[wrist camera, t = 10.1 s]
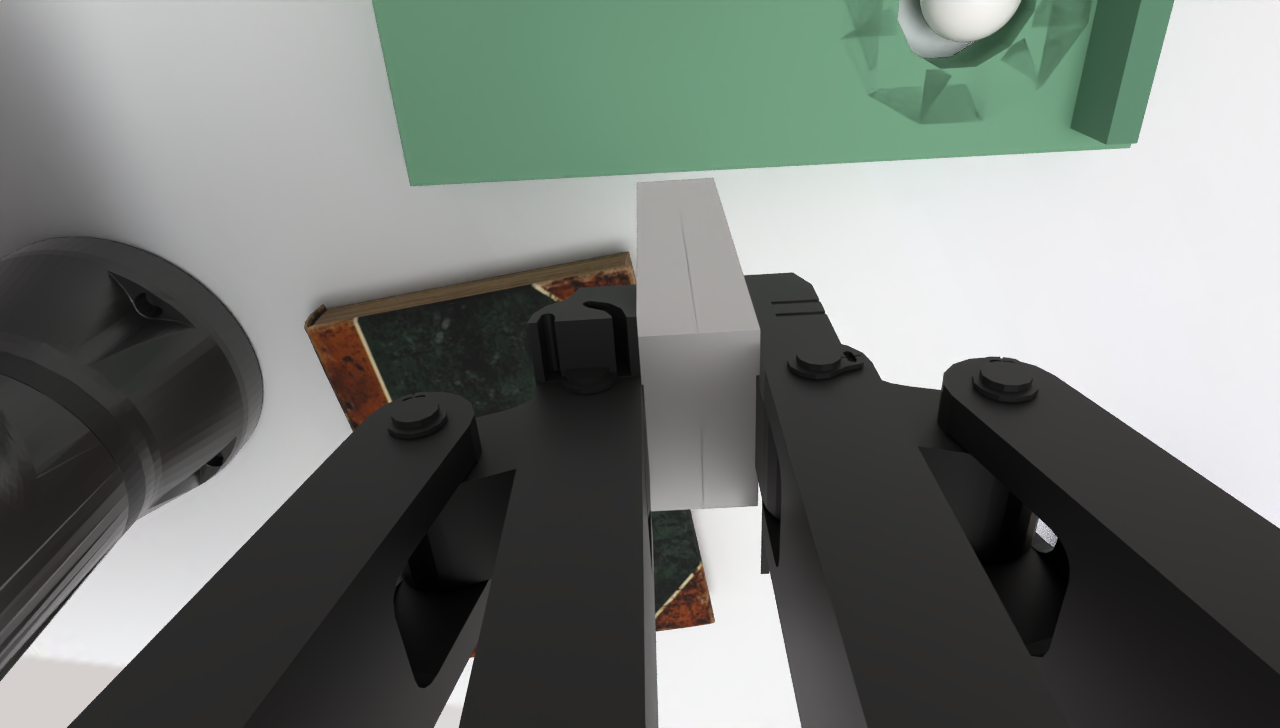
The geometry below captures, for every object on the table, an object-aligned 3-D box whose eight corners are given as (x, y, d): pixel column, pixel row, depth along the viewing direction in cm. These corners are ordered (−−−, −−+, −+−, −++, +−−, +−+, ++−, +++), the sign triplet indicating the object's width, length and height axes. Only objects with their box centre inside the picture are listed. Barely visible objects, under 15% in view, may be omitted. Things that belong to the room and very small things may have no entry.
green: (426, 168, 37) (282, 323, 22) (365, -152, 31) (105, -230, 16) (1095, 132, 36) (1405, 270, 21) (1174, -207, 30) (1695, -346, 15)
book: (712, 583, 52) (635, 239, 40) (716, 626, 48) (635, 265, 36) (466, 619, 53) (322, 301, 41) (455, 662, 50) (295, 331, 38)
